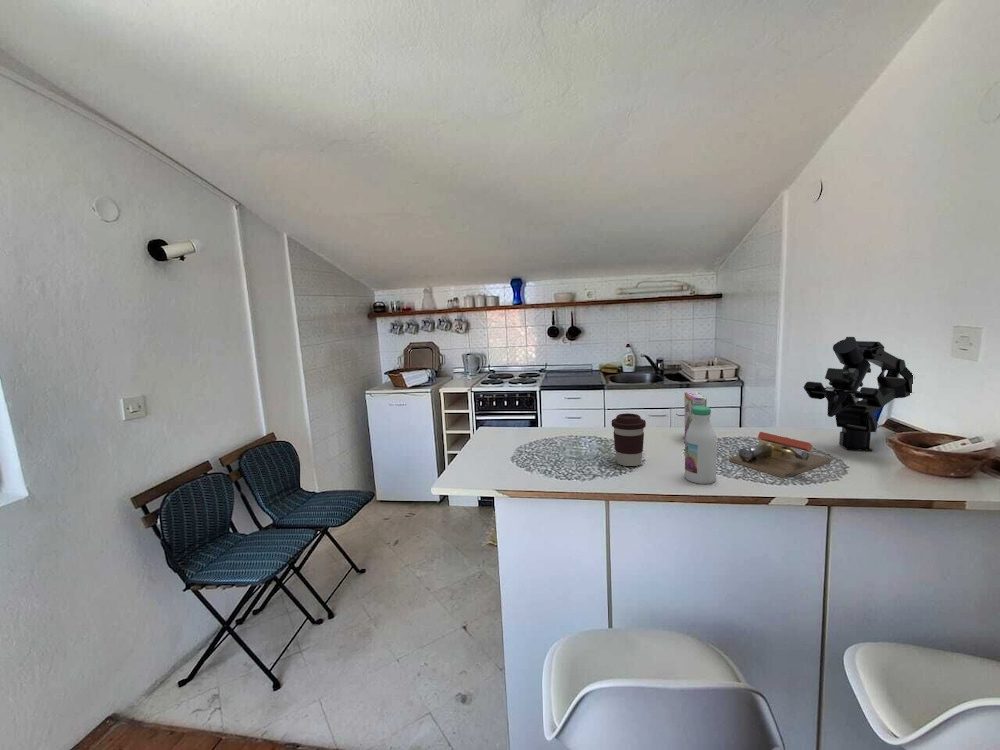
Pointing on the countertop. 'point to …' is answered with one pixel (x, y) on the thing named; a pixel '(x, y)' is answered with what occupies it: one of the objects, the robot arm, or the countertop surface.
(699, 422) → the milk bottle
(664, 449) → the countertop surface
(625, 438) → the coffee cup
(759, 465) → the valve on board
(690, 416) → the candy bar box
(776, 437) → the valve lever
